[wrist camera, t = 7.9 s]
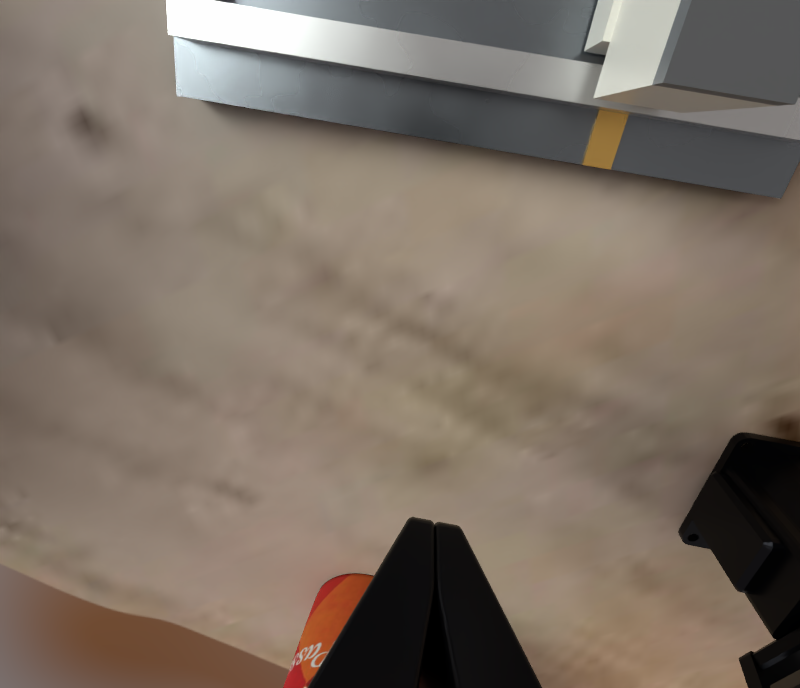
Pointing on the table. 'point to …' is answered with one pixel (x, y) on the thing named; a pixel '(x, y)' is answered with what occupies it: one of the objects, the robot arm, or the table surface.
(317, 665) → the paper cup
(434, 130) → the console
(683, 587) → the table surface
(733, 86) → the fader tab
